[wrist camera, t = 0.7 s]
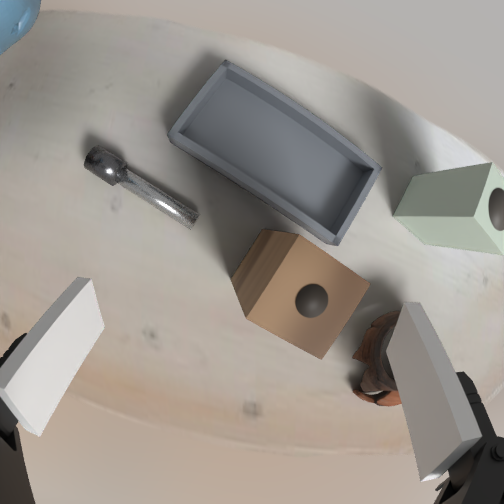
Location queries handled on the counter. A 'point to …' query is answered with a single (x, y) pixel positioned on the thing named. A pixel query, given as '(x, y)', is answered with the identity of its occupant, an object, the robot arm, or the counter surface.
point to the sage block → (456, 208)
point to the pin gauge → (137, 185)
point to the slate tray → (276, 152)
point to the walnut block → (297, 290)
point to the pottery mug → (377, 363)
